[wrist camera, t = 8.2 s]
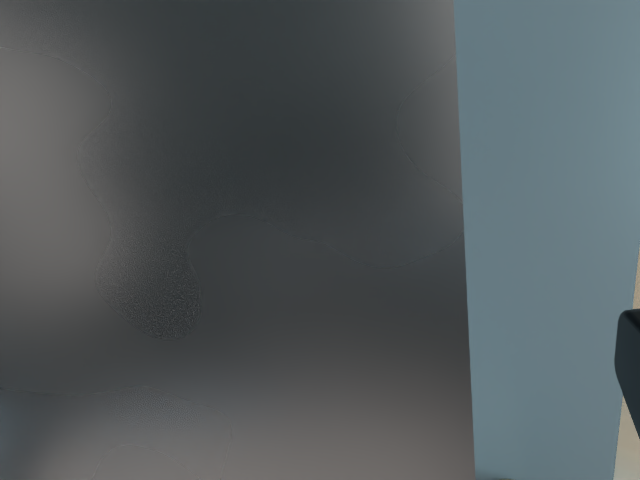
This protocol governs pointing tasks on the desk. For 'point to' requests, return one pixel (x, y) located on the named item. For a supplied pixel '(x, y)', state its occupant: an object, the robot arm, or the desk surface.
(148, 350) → the drive
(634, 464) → the desk surface
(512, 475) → the pin cradle
